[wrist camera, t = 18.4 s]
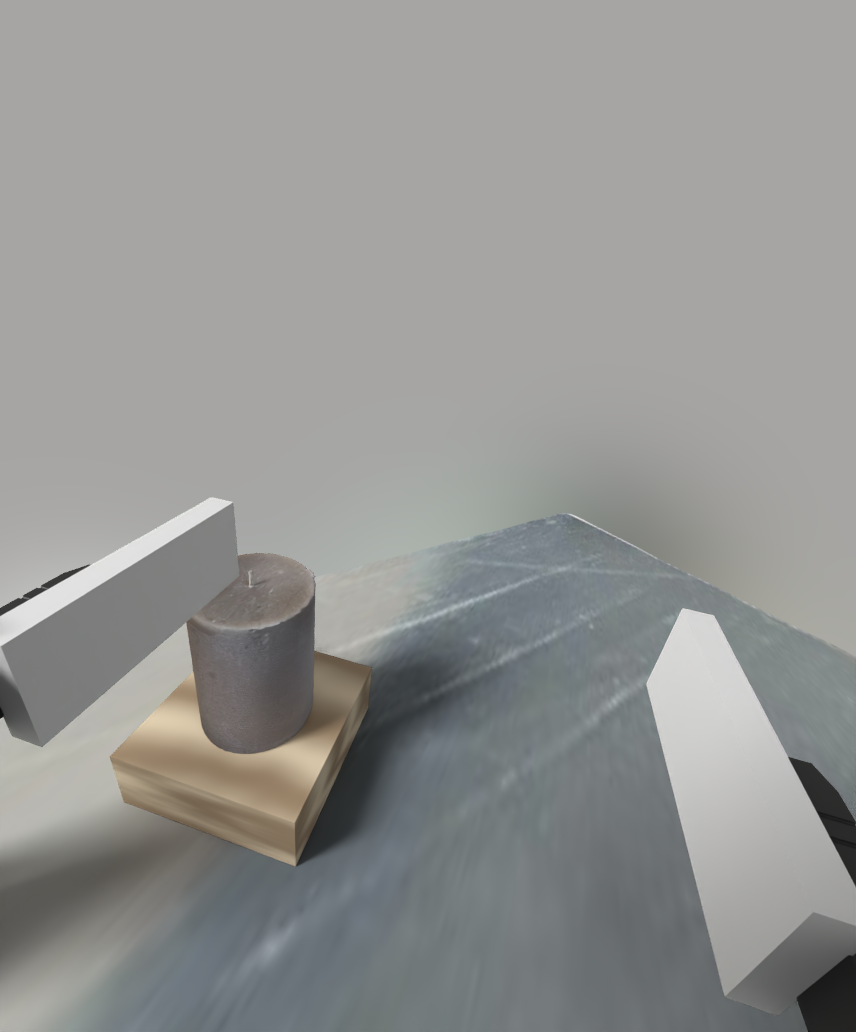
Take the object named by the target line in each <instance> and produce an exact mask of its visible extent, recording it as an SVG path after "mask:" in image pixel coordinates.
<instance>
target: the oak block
mask: <svg viewBox="0 0 856 1032" xmlns="http://www.w3.org/2000/svg"><path fill="white" fill-rule="evenodd" d="M371 671H372V667H368V666H365V665H361V664H358V663H354V662H351V661H347V660H344V659H341V658H337V657H334V656H330V655H327V654H323V653H320V652H316V651H314V688H313V694H314V697H313V704H312V709H311V712H310V714H309V716H308V718H307V720H306V722H305V724H304V725H303V727H302V728H301V730H300V731H299V732H298V733H297V734H296V735H295V736H293V737H292V738H291V739H289V740H288V741H287V742H285V743H284V744H281V745H279V746H277V747H275V748H273V749H270V750H267V751H265V752H259V753H253V754H237V753H232V752H228V751H224V750H223V749H220V748H218V747H217V746H215V745H214V744H213V743H212V742H211V741H210V740H209V739H208V738H207V736H206V735H205V733H204V731H203V728H202V725H201V719H200V713H199V706H198V699H197V692H196V685H195V679H194V672H192V673H191V674H190V675H189V676H188V677H187V678H186V679H185V680H184V681H183V682H182V683H181V684H180V685H179V686H178V687H177V688H176V689H175V690H174V692H173V693H172V694H171V695H170V696H169V697H168V698H167V699H166V700H165V701H164V702H163V703H162V704H161V705H160V706H159V707H158V708H157V709H156V710H155V711H154V712H153V713H152V714H151V715H150V716H149V717H148V718H147V719H146V720H145V721H144V722H143V723H142V724H141V725H140V726H139V727H138V728H137V729H136V730H135V731H134V732H133V733H132V734H131V735H130V736H129V737H128V738H127V740H126V741H125V742H124V743H123V744H122V745H121V746H120V747H119V748H118V749H117V750H116V751H115V752H114V753H113V754H112V755H111V756H110V759H111V762H112V765H113V769H114V772H115V775H116V778H117V781H118V785H119V788H120V791H121V794H122V797H123V801H124V802H126V803H128V804H131V805H134V806H136V807H139V808H141V809H144V810H147V811H149V812H152V813H155V814H157V815H160V816H163V817H165V818H168V819H171V820H173V821H176V822H179V823H181V824H184V825H187V826H189V827H192V828H195V829H197V830H200V831H203V832H205V833H208V834H210V835H213V836H216V837H218V838H221V839H224V840H226V841H229V842H232V843H234V844H237V845H240V846H242V847H245V848H248V849H250V850H253V851H256V852H258V853H261V854H264V855H266V856H269V857H272V858H274V859H277V860H279V861H282V862H285V863H287V864H290V865H293V866H295V867H296V865H297V863H298V860H299V858H300V856H301V854H302V852H303V849H304V847H305V845H306V843H307V841H308V838H309V836H310V834H311V832H312V830H313V828H314V825H315V823H316V821H317V819H318V817H319V814H320V812H321V810H322V808H323V806H324V803H325V801H326V799H327V797H328V795H329V792H330V790H331V788H332V786H333V784H334V781H335V779H336V777H337V775H338V773H339V770H340V768H341V766H342V764H343V762H344V760H345V757H346V755H347V753H348V751H349V749H350V746H351V744H352V742H353V740H354V738H355V735H356V733H357V731H358V729H359V727H360V724H361V722H362V720H363V718H364V716H365V713H366V711H367V709H368V706H369V694H370V683H371Z"/></svg>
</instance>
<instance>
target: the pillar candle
mask: <svg viewBox="0 0 856 1032" xmlns="http://www.w3.org/2000/svg"><path fill="white" fill-rule="evenodd" d="M238 565H239V577H238V578H236V579H235V580H234V581H233V582H232V583H231V584H230V585H228V586H227V587H226V588H225V589H224V590H223V591H222V592H220V593H219V594H218V595H217V596H216V597H215V598H213V599H212V600H211V601H210V602H209V603H208V604H207V605H205V606H204V607H203V608H202V609H201V610H200V611H198V612H197V613H196V614H195V615H194V616H193V617H192V618H190V619H189V620H188V621H187V622H186V623H187V629H188V636H189V643H190V650H191V656H192V664H193V672H194V679H195V685H196V692H197V699H198V706H199V713H200V719H201V725H202V728H203V731H204V733H205V735H206V736H207V738H208V739H209V740H210V741H211V742H212V743H213V744H214V745H215V746H217V747H218V748H220V749H223V750H224V751H228V752H232V753H237V754H253V753H259V752H265V751H267V750H270V749H273V748H275V747H277V746H279V745H281V744H284V743H285V742H287V741H288V740H289V739H291V738H292V737H293V736H295V735H296V734H297V733H298V732H299V731H300V730H301V728H302V727H303V725H304V724H305V722H306V720H307V718H308V716H309V714H310V712H311V709H312V704H313V697H314V694H313V688H314V627H315V586H316V584H315V581H314V577H315V576H314V574H313V572H312V571H311V570H308V569H307V568H305V567H304V566H303V565H302V564H300V563H299V562H297V561H295V560H293V559H290V558H287V557H284V556H279V555H276V554H269V553H268V554H264V553H255V554H245V555H239V556H238Z"/></svg>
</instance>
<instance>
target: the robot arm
mask: <svg viewBox="0 0 856 1032" xmlns="http://www.w3.org/2000/svg"><path fill="white" fill-rule="evenodd" d="M238 577H239V565H238V553H237V541H236V530H235V518H234V506H233V502H230V501H225V500H221V499H217V498H213V497H211V498H209V499H207V500H205V501H204V502H202V503H200V504H198V505H197V506H195V507H193V508H191V509H189V510H188V511H186V512H184V513H182V514H181V515H179V516H177V517H175V518H173V519H172V520H170V521H168V522H166V523H165V524H163V525H161V526H159V527H158V528H156V529H154V530H153V531H151V532H149V533H147V534H145V535H143V536H142V537H140V538H138V539H136V540H134V541H133V542H131V543H129V544H127V545H126V546H124V547H122V548H120V549H119V550H117V551H115V552H113V553H111V554H110V555H108V556H106V557H104V558H103V559H101V560H99V561H97V562H95V563H94V564H92V565H87V566H84V567H81V568H78V569H75V570H72V571H69V572H66V573H63V574H61V575H60V576H58V577H56V578H54V579H52V580H50V581H49V582H47V583H45V584H43V585H42V586H41V588H36V589H34V590H32V591H31V592H29V593H27V594H25V595H23V598H22V599H20V598H18V599H16V600H14V601H12V602H10V603H9V604H7V605H5V606H3V607H1V608H0V718H2V717H4V719H5V721H6V724H7V726H8V728H9V730H10V733H11V735H12V736H13V737H16V738H19V739H22V740H24V741H27V742H30V743H32V744H35V745H38V746H41V747H43V746H44V745H45V744H46V743H47V742H49V741H50V740H51V739H52V738H53V737H54V736H55V735H57V734H58V733H59V732H60V731H61V730H62V729H64V728H65V727H66V726H67V725H68V724H69V723H70V722H72V721H73V720H74V719H75V718H76V717H77V716H79V715H80V714H81V713H82V712H83V711H84V710H85V709H87V708H88V707H89V706H90V705H91V704H92V703H93V702H95V701H96V700H97V699H98V698H99V697H100V696H102V695H103V694H104V693H105V692H106V691H107V690H108V689H110V688H111V687H112V686H113V685H114V684H115V683H117V682H118V681H119V680H120V679H121V678H122V677H123V676H125V675H126V674H127V673H128V672H129V671H130V670H132V669H133V668H134V667H135V666H136V665H137V664H138V663H140V662H141V661H142V660H143V659H144V658H145V657H147V656H148V655H149V654H150V653H151V652H152V651H153V650H155V649H156V648H157V647H158V646H159V645H160V644H162V643H163V642H164V641H165V640H166V639H167V638H168V637H170V636H171V635H172V634H173V633H174V632H175V631H177V630H178V629H179V628H180V627H181V626H182V625H183V624H185V623H186V622H187V621H188V620H189V619H190V618H192V617H193V616H194V615H195V614H196V613H197V612H198V611H200V610H201V609H202V608H203V607H204V606H205V605H207V604H208V603H209V602H210V601H211V600H212V599H213V598H215V597H216V596H217V595H218V594H219V593H220V592H222V591H223V590H224V589H225V588H226V587H227V586H228V585H230V584H231V583H232V582H233V581H234V580H235V579H236V578H238ZM647 688H648V692H649V696H650V700H651V704H652V708H653V712H654V716H655V720H656V724H657V728H658V732H659V736H660V740H661V744H662V748H663V752H664V756H665V760H666V764H667V768H668V772H669V776H670V780H671V784H672V788H673V792H674V796H675V800H676V804H677V808H678V812H679V816H680V820H681V824H682V828H683V832H684V836H685V840H686V844H687V848H688V852H689V856H690V860H691V864H692V868H693V872H694V876H695V880H696V884H697V888H698V892H699V896H700V900H701V904H702V908H703V912H704V916H705V920H706V924H707V928H708V932H709V936H710V940H711V944H712V948H713V952H714V956H715V960H716V964H717V968H718V972H719V976H720V980H721V984H722V988H723V992H724V996H725V997H726V998H729V999H732V1000H735V1001H737V1002H740V1003H743V1004H745V1005H748V1006H751V1007H754V1008H756V1009H759V1010H762V1011H765V1012H767V1013H770V1014H773V1015H776V1016H779V1015H780V1014H781V1013H782V1012H784V1011H785V1010H786V1009H787V1008H789V1007H790V1006H791V1005H792V1004H794V1003H795V1002H796V1001H798V1004H799V1007H800V1010H801V1012H802V1015H803V1018H804V1021H805V1024H806V1027H807V1029H808V1032H856V826H855V824H856V822H855V820H854V818H853V817H852V815H851V813H850V812H849V810H848V808H847V806H846V805H845V803H844V801H843V800H842V798H841V796H840V795H839V793H838V792H837V790H836V789H835V788H834V787H833V786H832V785H831V784H830V783H829V782H828V781H827V780H826V779H825V778H824V777H823V775H822V774H821V773H820V772H819V771H818V770H817V769H816V768H815V767H814V766H813V765H812V764H811V763H808V762H804V761H801V760H797V759H793V758H790V757H788V756H787V754H786V753H785V751H784V749H783V747H782V745H781V743H780V741H779V739H778V737H777V735H776V733H775V732H774V730H773V728H772V726H771V724H770V722H769V720H768V718H767V716H766V714H765V712H764V710H763V709H762V707H761V705H760V703H759V701H758V699H757V697H756V695H755V693H754V691H753V689H752V687H751V686H750V684H749V682H748V680H747V678H746V676H745V674H744V672H743V670H742V668H741V666H740V665H739V663H738V661H737V659H736V657H735V655H734V653H733V651H732V649H731V647H730V645H729V643H728V642H727V640H726V638H725V636H724V634H723V632H722V630H721V628H720V626H719V624H718V622H717V621H716V619H715V617H714V615H709V614H705V613H701V612H697V611H692V610H688V609H684V608H682V610H681V612H680V614H679V617H678V619H677V621H676V623H675V625H674V627H673V629H672V631H671V633H670V635H669V638H668V640H667V642H666V644H665V646H664V648H663V650H662V652H661V654H660V656H659V659H658V661H657V663H656V665H655V667H654V669H653V671H652V673H651V675H650V677H649V680H648V682H647Z"/></svg>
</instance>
